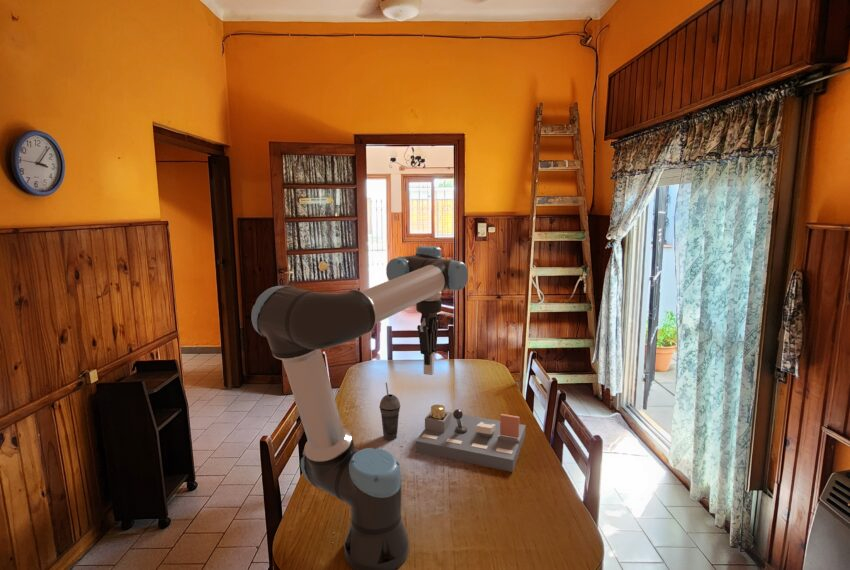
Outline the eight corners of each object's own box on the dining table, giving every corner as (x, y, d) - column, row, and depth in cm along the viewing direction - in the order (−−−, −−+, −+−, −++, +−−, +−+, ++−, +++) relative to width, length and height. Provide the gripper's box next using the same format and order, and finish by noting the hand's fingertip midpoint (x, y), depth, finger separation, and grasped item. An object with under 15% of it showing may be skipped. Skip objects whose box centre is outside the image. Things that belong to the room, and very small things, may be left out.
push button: (442, 427, 159) (442, 411, 158) (428, 425, 161) (429, 409, 160) (446, 421, 164) (446, 405, 163) (433, 419, 165) (433, 403, 164)
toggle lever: (464, 431, 157) (460, 416, 152) (455, 429, 158) (451, 414, 153) (466, 423, 159) (463, 408, 154) (457, 421, 160) (453, 406, 155)
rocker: (490, 434, 152) (491, 427, 152) (475, 431, 154) (476, 425, 154) (495, 430, 158) (495, 423, 159) (480, 427, 160) (481, 421, 160)
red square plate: (518, 438, 152) (519, 418, 151) (500, 434, 154) (500, 415, 153) (518, 436, 153) (519, 416, 152) (500, 433, 155) (501, 413, 154)
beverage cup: (397, 443, 159) (397, 387, 155) (377, 441, 160) (376, 386, 157) (402, 433, 166) (402, 379, 162) (383, 431, 167) (382, 378, 164)
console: (512, 472, 142) (513, 447, 141) (415, 452, 153) (415, 429, 152) (525, 435, 164) (526, 414, 163) (439, 420, 175) (439, 400, 174)
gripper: (433, 303, 131) (432, 383, 135) (447, 295, 143) (447, 368, 147) (408, 301, 133) (409, 379, 138) (424, 293, 145) (424, 365, 150)
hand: (428, 373), depth 142 cm, fingers closed
